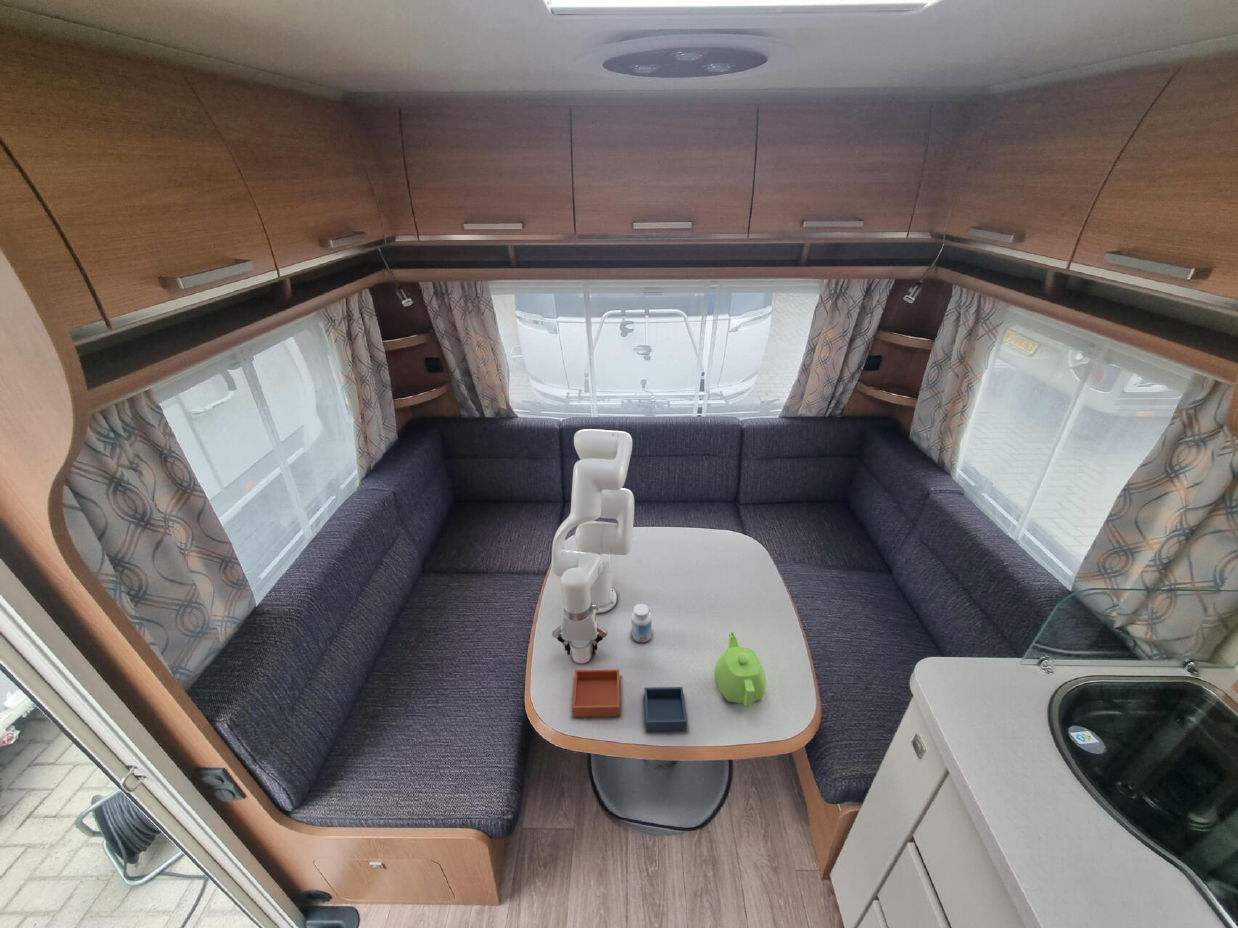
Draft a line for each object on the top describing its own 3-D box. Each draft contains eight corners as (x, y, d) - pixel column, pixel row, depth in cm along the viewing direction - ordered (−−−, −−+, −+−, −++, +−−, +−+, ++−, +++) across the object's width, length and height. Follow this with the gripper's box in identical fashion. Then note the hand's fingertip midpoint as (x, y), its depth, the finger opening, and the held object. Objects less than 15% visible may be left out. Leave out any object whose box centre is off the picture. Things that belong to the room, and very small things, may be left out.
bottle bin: (644, 696, 133) (644, 687, 131) (681, 695, 133) (682, 686, 131) (646, 731, 124) (646, 722, 122) (686, 730, 124) (686, 721, 122)
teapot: (706, 656, 143) (710, 627, 137) (752, 654, 144) (757, 624, 137) (722, 722, 126) (726, 692, 120) (773, 719, 126) (780, 689, 120)
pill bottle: (653, 629, 152) (654, 604, 146) (648, 645, 147) (648, 619, 141) (635, 625, 154) (634, 599, 148) (629, 640, 149) (628, 614, 143)
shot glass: (590, 666, 141) (588, 650, 138) (567, 663, 142) (565, 647, 139) (595, 647, 147) (594, 631, 143) (574, 644, 148) (572, 628, 145)
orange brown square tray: (576, 678, 138) (575, 669, 136) (619, 678, 138) (619, 669, 136) (573, 716, 128) (572, 707, 126) (619, 716, 128) (619, 706, 126)
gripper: (609, 597, 138) (611, 639, 147) (547, 598, 138) (553, 640, 147) (608, 618, 131) (610, 661, 140) (544, 619, 131) (550, 662, 141)
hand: (581, 650), depth 144 cm, fingers closed on shot glass, 6 cm apart
